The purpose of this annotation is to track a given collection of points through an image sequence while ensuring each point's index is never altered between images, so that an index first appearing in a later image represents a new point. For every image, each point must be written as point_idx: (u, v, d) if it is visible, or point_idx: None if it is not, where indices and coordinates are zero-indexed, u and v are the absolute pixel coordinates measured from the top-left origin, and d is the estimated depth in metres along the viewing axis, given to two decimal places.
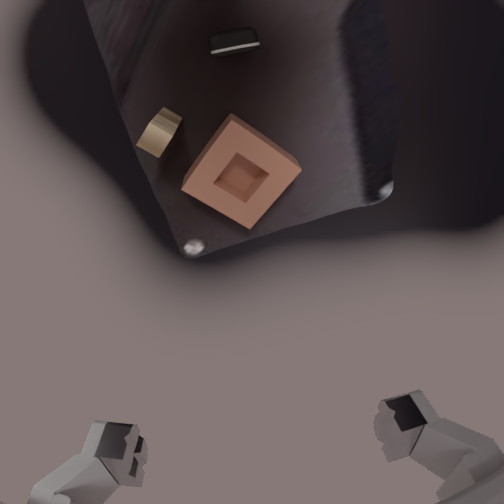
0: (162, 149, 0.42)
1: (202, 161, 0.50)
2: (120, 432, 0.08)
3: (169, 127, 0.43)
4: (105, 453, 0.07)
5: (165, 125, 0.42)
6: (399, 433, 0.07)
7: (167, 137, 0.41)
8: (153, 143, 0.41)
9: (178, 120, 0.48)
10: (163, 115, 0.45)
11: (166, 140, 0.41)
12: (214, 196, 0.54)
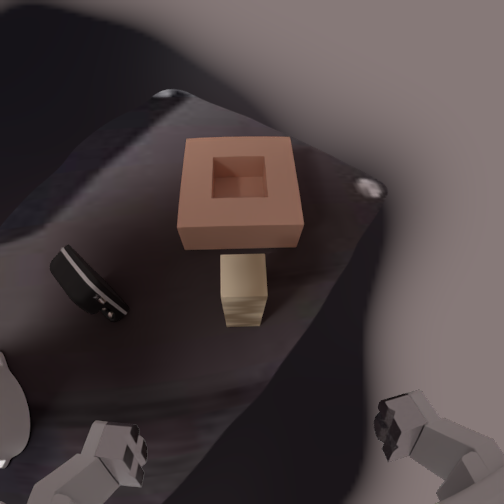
0: (248, 256, 0.28)
1: (249, 223, 0.37)
2: (120, 432, 0.08)
3: None
4: (105, 453, 0.07)
5: None
6: (399, 433, 0.07)
7: (226, 260, 0.28)
8: (248, 273, 0.28)
9: None
10: None
11: (232, 259, 0.28)
12: (282, 187, 0.39)
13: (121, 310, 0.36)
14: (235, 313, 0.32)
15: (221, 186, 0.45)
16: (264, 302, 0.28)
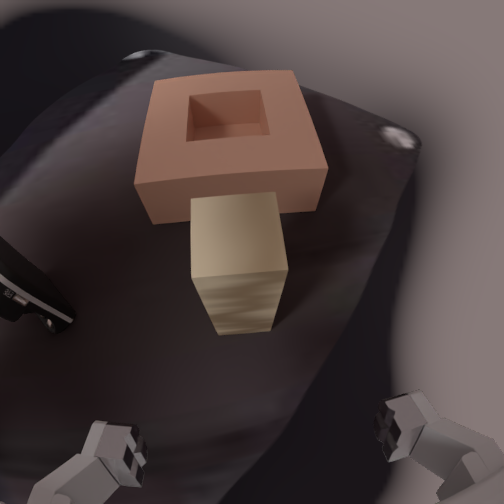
0: (245, 197, 0.14)
1: (244, 169, 0.23)
2: (120, 432, 0.08)
3: None
4: (105, 453, 0.07)
5: None
6: (399, 433, 0.07)
7: (202, 207, 0.14)
8: (246, 228, 0.14)
9: None
10: None
11: (213, 204, 0.14)
12: (289, 122, 0.26)
13: (61, 316, 0.22)
14: (228, 311, 0.18)
15: (203, 137, 0.31)
16: (280, 286, 0.15)
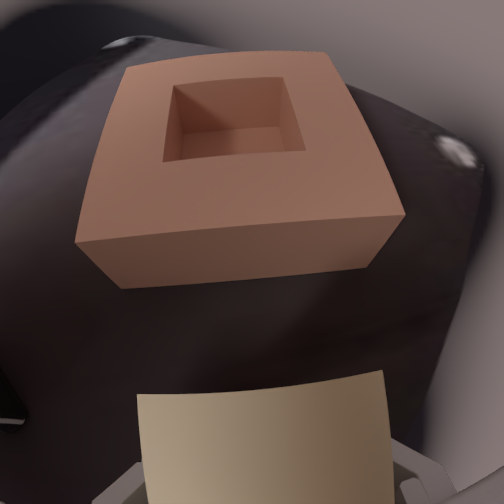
0: (299, 399, 0.04)
1: (265, 218, 0.13)
2: None
3: None
4: None
5: None
6: None
7: (173, 428, 0.04)
8: (303, 496, 0.04)
9: None
10: None
11: (203, 421, 0.04)
12: (335, 129, 0.15)
13: (6, 421, 0.12)
14: None
15: (196, 148, 0.21)
16: None
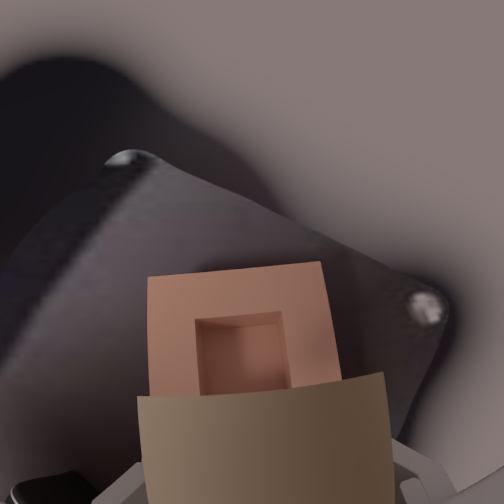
0: (299, 401, 0.04)
1: None
2: None
3: None
4: None
5: None
6: None
7: (173, 430, 0.04)
8: (303, 497, 0.04)
9: None
10: None
11: (204, 423, 0.04)
12: (315, 373, 0.23)
13: None
14: None
15: (214, 347, 0.28)
16: None
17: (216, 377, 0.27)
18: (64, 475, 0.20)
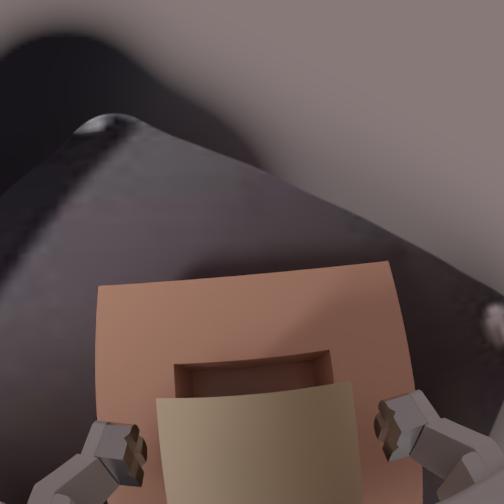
0: (283, 402, 0.06)
1: None
2: (120, 432, 0.08)
3: None
4: (105, 453, 0.07)
5: None
6: (399, 433, 0.07)
7: (185, 424, 0.05)
8: (286, 478, 0.05)
9: None
10: None
11: (208, 418, 0.06)
12: (382, 452, 0.11)
13: None
14: None
15: None
16: None
17: None
18: None
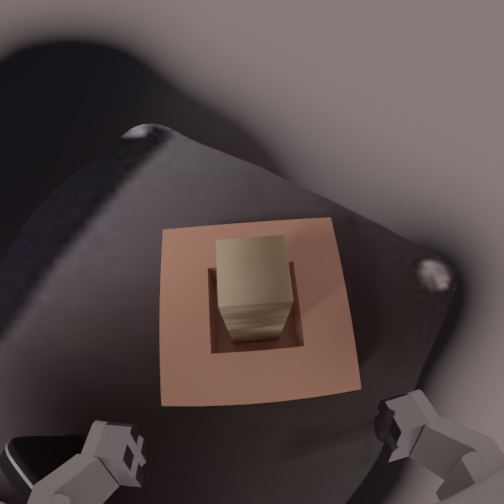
0: (260, 240, 0.18)
1: (276, 398, 0.21)
2: (120, 432, 0.08)
3: None
4: (105, 453, 0.07)
5: None
6: (399, 433, 0.07)
7: (225, 247, 0.18)
8: (261, 267, 0.17)
9: None
10: None
11: (234, 245, 0.18)
12: (326, 323, 0.23)
13: None
14: (244, 327, 0.21)
15: None
16: (287, 310, 0.18)
17: (227, 332, 0.28)
18: (64, 437, 0.21)
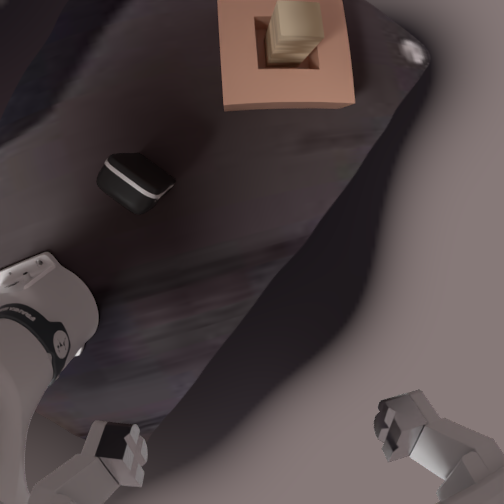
0: (304, 3, 0.21)
1: (301, 99, 0.31)
2: (120, 432, 0.08)
3: (274, 20, 0.24)
4: (105, 453, 0.07)
5: (274, 25, 0.24)
6: (399, 433, 0.07)
7: (283, 5, 0.21)
8: (305, 17, 0.22)
9: (266, 34, 0.30)
10: (270, 48, 0.29)
11: (289, 4, 0.21)
12: (334, 58, 0.30)
13: (170, 187, 0.37)
14: (284, 52, 0.28)
15: (259, 40, 0.33)
16: (317, 43, 0.25)
17: (261, 59, 0.33)
18: (134, 154, 0.35)
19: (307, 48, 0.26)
